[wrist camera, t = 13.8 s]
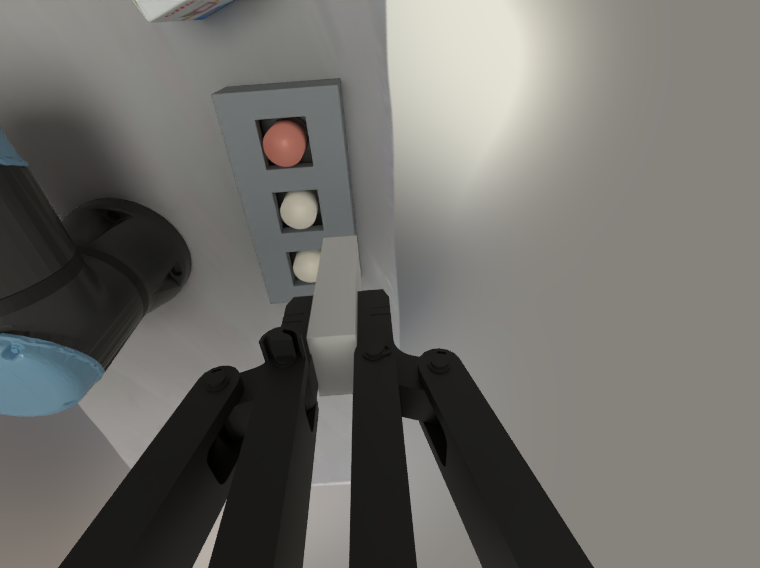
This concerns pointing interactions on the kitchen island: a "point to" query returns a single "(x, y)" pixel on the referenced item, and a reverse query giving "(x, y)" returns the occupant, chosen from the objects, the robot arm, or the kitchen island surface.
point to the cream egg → (300, 208)
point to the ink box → (178, 9)
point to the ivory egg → (307, 265)
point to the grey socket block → (288, 172)
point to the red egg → (286, 141)
